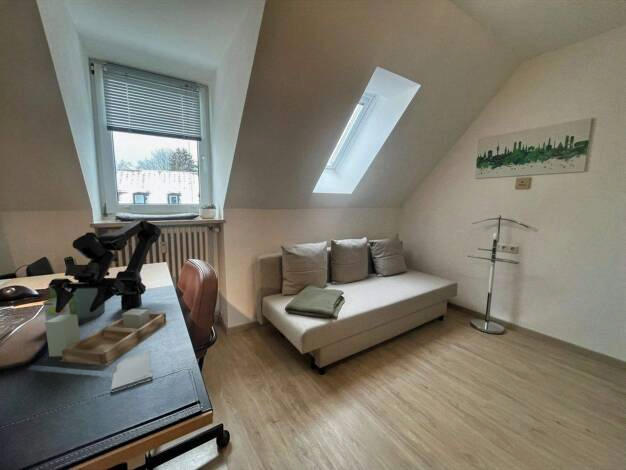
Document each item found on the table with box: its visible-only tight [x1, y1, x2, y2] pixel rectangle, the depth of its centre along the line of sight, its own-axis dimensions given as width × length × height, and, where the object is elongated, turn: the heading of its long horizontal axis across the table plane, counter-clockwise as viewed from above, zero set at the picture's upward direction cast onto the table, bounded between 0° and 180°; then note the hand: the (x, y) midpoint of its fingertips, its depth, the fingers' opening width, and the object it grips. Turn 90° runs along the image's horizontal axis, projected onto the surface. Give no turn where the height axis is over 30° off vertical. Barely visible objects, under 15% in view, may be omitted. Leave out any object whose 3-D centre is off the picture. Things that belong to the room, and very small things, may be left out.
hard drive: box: [110, 351, 154, 392], centre depth 65 cm, size 2×8×12 cm
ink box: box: [42, 287, 79, 322], centre depth 86 cm, size 7×4×13 cm, turn 105°
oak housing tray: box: [59, 311, 169, 366], centre depth 78 cm, size 24×14×4 cm, turn 174°
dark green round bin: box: [74, 288, 106, 319], centre depth 96 cm, size 10×10×12 cm
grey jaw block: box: [122, 308, 150, 329], centre depth 83 cm, size 4×6×6 cm, turn 84°
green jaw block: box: [44, 314, 81, 357], centre depth 70 cm, size 4×4×11 cm
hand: (74, 312), depth 74 cm, fingers open, 9 cm apart
